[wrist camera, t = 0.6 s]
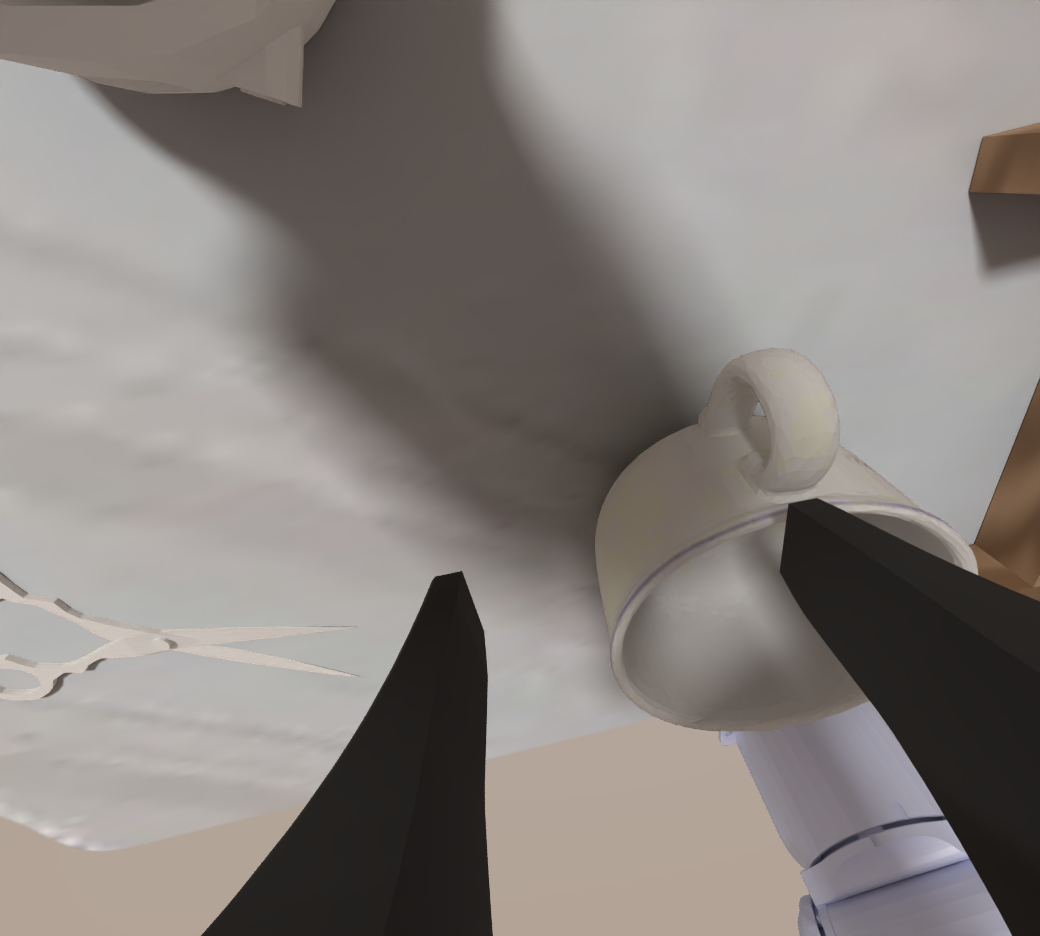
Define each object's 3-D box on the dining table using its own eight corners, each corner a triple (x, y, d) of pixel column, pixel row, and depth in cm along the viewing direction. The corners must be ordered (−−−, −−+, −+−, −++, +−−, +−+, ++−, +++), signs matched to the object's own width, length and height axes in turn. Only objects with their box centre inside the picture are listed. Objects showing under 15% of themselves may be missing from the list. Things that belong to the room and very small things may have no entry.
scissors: (-168, 543, 19) (361, 584, 22) (-145, 530, 19) (365, 572, 22) (-53, 704, 24) (358, 718, 27) (-39, 690, 25) (361, 705, 28)
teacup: (776, 576, 24) (893, 731, 18) (567, 592, 24) (604, 759, 17) (879, 293, 17) (1148, 371, 10) (580, 304, 16) (655, 397, 10)
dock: (995, 559, 25) (1054, 602, 22) (868, 585, 25) (912, 631, 23) (1205, 81, 14) (1362, 62, 12) (983, 137, 15) (1089, 129, 12)
